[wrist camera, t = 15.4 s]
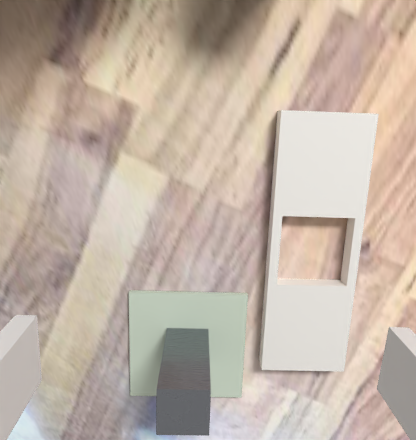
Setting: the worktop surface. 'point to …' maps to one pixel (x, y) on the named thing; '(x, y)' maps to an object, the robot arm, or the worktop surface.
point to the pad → (187, 318)
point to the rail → (315, 207)
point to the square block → (184, 383)
